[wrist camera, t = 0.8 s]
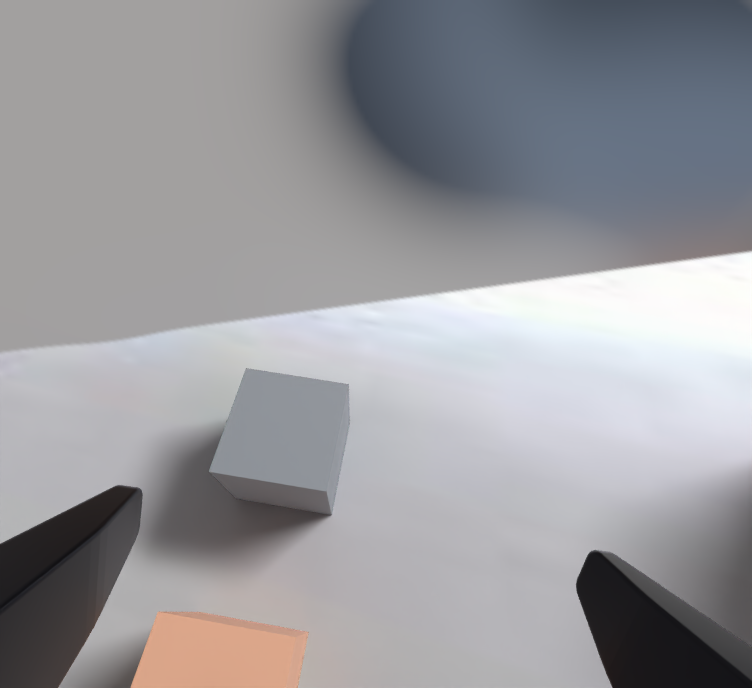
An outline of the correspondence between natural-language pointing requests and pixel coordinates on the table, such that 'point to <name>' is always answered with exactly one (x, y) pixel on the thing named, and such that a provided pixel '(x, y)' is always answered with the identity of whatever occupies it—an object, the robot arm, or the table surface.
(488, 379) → the table surface
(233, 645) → the terracotta cube
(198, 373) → the table surface
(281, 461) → the grey cube
